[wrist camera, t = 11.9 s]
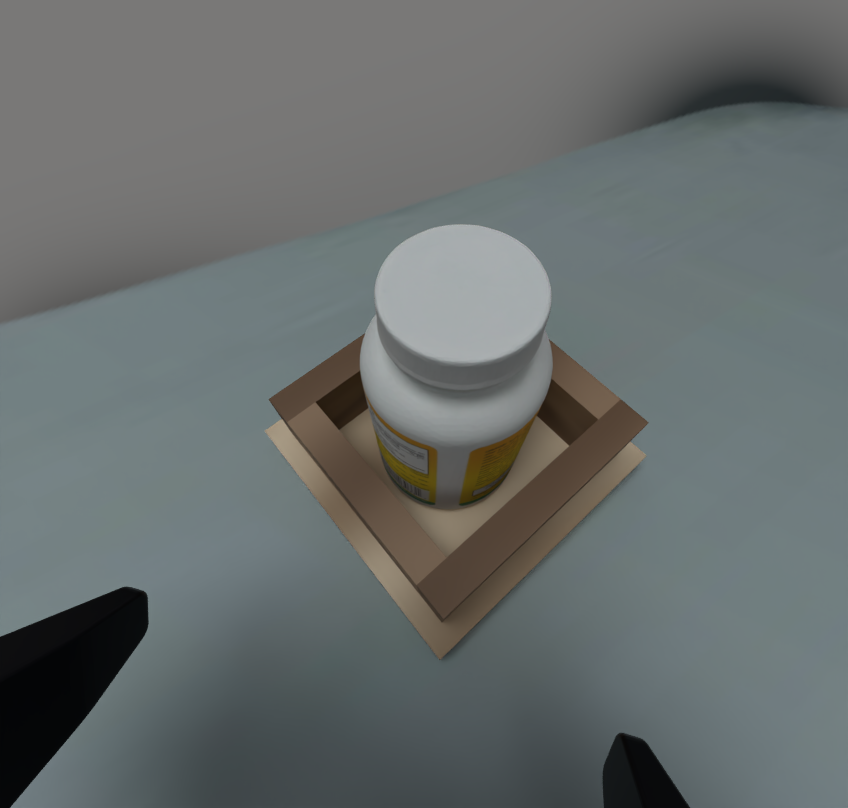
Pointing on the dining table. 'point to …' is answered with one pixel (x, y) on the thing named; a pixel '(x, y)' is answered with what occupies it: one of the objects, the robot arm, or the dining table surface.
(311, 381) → the socket board
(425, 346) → the supplement bottle
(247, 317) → the dining table surface
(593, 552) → the dining table surface
